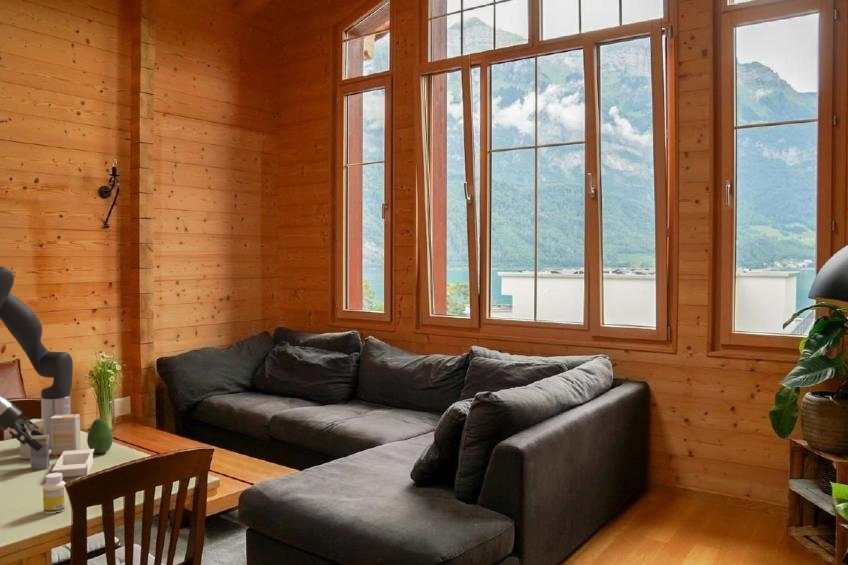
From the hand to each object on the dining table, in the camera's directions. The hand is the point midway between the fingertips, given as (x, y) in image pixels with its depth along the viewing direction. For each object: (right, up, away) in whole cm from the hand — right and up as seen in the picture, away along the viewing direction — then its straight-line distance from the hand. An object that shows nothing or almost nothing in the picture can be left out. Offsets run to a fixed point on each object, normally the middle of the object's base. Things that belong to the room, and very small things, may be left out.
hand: (43, 445), depth 225 cm
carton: (+11, -7, -2) cm, 13 cm away
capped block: (-1, -7, 0) cm, 7 cm away
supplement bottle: (+23, -9, -36) cm, 44 cm away
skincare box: (-10, -7, +12) cm, 17 cm away
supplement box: (-1, -7, +16) cm, 17 cm away
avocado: (+11, -7, +17) cm, 21 cm away
